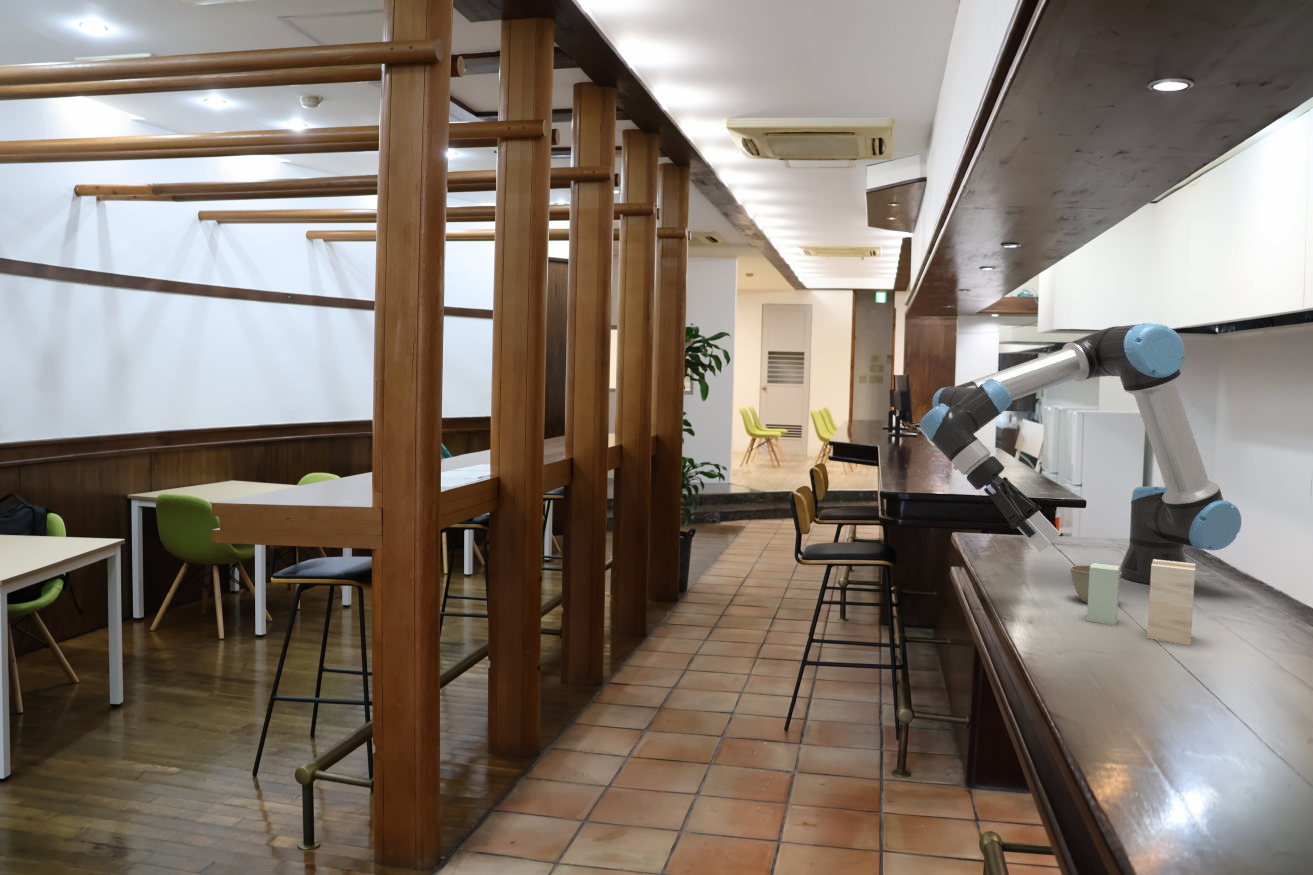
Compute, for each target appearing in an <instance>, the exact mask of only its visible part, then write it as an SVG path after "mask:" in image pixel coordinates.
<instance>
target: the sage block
mask: <svg viewBox="0 0 1313 875" xmlns="http://www.w3.org/2000/svg"><path fill="white" fill-rule="evenodd" d="M1120 566H1121V565H1115V564H1114V565H1113V564H1106V563H1105V564H1104V563H1096V562H1092V563H1091V564H1090V571H1089V591H1088V603H1087V610H1086V611H1087V614H1086V621H1087V622H1090V623H1096V624H1097V623H1098V624H1105V625H1110V626H1112V625H1113V626H1115V625H1116V623H1117V620H1118V608H1119V606H1118V604H1119V591H1120V588H1119V587H1120V586H1119V585H1120V582H1119V572H1120Z"/></svg>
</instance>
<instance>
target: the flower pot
mask: <svg viewBox="0 0 1313 875" xmlns="http://www.w3.org/2000/svg"><path fill="white" fill-rule="evenodd" d="M1090 566H1091V564H1090V565H1087V564H1086V565H1085V564H1084V565H1082V564H1080V565H1078V564H1077V565H1072V566H1071V567H1070V575H1071V579H1072V583H1073V586H1074V589H1075V590H1076V593H1077V596H1078V597H1079V598H1080V600H1081V601H1082V602H1084V603H1085V604H1088V591H1089V571H1090ZM1121 574H1122V573H1121V572H1119V583H1120V582H1121Z"/></svg>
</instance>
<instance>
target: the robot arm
mask: <svg viewBox="0 0 1313 875" xmlns="http://www.w3.org/2000/svg"><path fill="white" fill-rule="evenodd" d="M1185 350H1186V349H1185V345H1184V342H1183V340H1182V338H1181V337H1180V335H1179V334H1178V333H1177V332H1176V331H1175V330H1174V329H1172V328H1171V327H1169V326H1167V325H1165V324H1159V323H1150V322H1149V323H1147V322H1146V323H1140V324H1130V325H1122V326H1121V325H1118V326H1117V325H1116V326H1110V327H1107V328H1103V329H1100V330H1098V331H1095V332H1093V333H1091V334H1088V335H1086V336H1083V337H1080V338H1078V339H1076V340H1073V341H1070V342H1067V343H1065V344H1064V345H1063V346H1062V349H1060V350H1057V351H1054V352H1051V353H1048V354H1045V355H1042V356H1040V357H1036V358H1034V359H1031V360H1028V361H1025V362H1022V363H1020V364H1019V363H1018V364H1017V365H1013V366H1011V367H1008V368H1005V369H1002V370H999V371H997V372H993V373H991V374H987V375H984V376H982V377H979V378H975V379H973V380H971V381H967V382H964V383H962V384H959V385H956V386H946V387H942V388H940V389H938V390H937V391H936V392H935V394H934V395H933V397H932V401H931V402H932V403H931V404H932V409H930V410H929V411H928V412H927V413H926V414H925V415H923V417H922V418H921V419H920V422H919V427H920V429H921V431H922V432H923V433H924V434H925V437H927V438H928V440H929V441H930V442H931V443H932V444H933V445H934V446H935V447H936V448H937V449H938V450H939V451H940V452H941V453H942V454H943V455H944V456H945V457H946V459H948V461H950V462H951V463H952V465H953V467H952V468H953V469H954V471H957V470H958V471H959V473H961V475H963V476H966V480H967V482H968V483H970V485H971V486H973V488H974V489H975V490H981V489H983V488H984V487H985V488H984V489H983V490H984V491H983V492H985V493H986V494H987V496H988V497H989V498H990V499H991V501H992V502H993V504H995V506H996V508H997V509H998V510H999V511H1000V512H1001V514H1002V515H1003V516H1004V517H1005V519H1006V521H1007V522H1008V524H1009V527H1010V528H1011V529H1012V530H1015V529H1018V530H1019V532H1021V534H1022V535H1023V536H1024V537H1025V538H1026V539H1027V540H1028V542H1030V543H1031V545H1033V547H1034V548H1035V549H1036V550H1037V551H1038V552H1039V553H1041V552H1043V551H1044V550H1045V549H1046V548H1048V547H1049V546H1050V545H1051V544H1052V542H1053V541H1054V540H1055V539H1056V538H1058V537H1060V536H1061V532H1060V531H1059V530H1058V529H1057V528H1056V527H1055V526H1054V525H1053V524H1052V523H1051V522H1050V521H1049V520H1048V519H1047V518H1046V516H1044V515H1043V513H1042V512H1041V511H1040V510H1041V509H1042V507H1041V506H1040V504H1037V503H1035V502H1033V500H1031V498H1029V497H1028V496H1027V495H1025V493H1023V492H1022V491H1021V490H1020V489H1019V488H1018V487H1016V486H1015V484H1013V483H1012V482H1011V481H1010V480H1009V479H1008V477H1006V476H1003V478H1002V477H1001V476H1000V474H1002V472H1003V471H1004V470H1005V466H1004V465H1003V464H1002V463H1001V462H1000V460H998V458H997V457H995V456H993V455H992V456H991V450H990V449H988V448H987V447H986V445H984V444H983V442H982V441H981V440H980V439H979V438H978V437H977V436H976V435H975V434H976V433H977V432H978V431H980V430H981V429H982V428H984V427H985V426H986V425H988V424H989V423H990V422H991V421H993V420H994V419H996V418H998V416H1000V415H1002V414H1003V413H1004V411H1006V410H1007V409H1008V408H1009V407H1010V406H1011V405H1012V403H1013V401H1015V400H1019V399H1022V398H1024V397H1026V396H1029V395H1032V394H1036V393H1039V392H1041V391H1044V390H1047V389H1049V388H1052V387H1055V386H1058V385H1060V384H1064V383H1067V382H1070V381H1072V380H1074V381H1077V382H1083V381H1085V380H1088V379H1093V378H1100V377H1101V378H1102V377H1119V379H1120V382H1121V385H1122V387H1123V390H1124V392H1125V393H1126V392H1127V393H1129V394H1131V395H1133V396H1134V398H1135V402H1136V404H1137V407H1138V410H1139V413H1140V417H1141V419H1142V422H1143V425H1144V428H1145V430H1146V434H1147V436H1148V439H1149V443H1150V446H1151V448H1152V451H1153V454H1154V457H1155V459H1156V462H1157V466H1158V468H1159V471H1160V474H1161V477H1162V480H1163V483H1164V486H1137V487H1136V488H1134V489H1133V490H1132V495H1131V500H1130V505H1131V508H1130V525H1129V526H1130V527H1129V544H1128V548H1127V551H1126V552H1125V555H1124V557H1123V559H1122V562H1121V563H1120V565H1119V566H1120V572H1121V573H1122V574H1121V577H1122V579H1126V580H1128V581H1129V580H1130V581H1133V582H1138V583H1143V584H1148V585H1150V580H1151V565H1152V562H1153V559H1156V560H1165V561H1175V562H1184V563H1188V562H1187V557H1186V554H1185V551H1184V549H1185V546H1190V547H1192V548H1195V549H1198V550H1207V551H1220V550H1223V549H1225V548H1227V547H1229V546H1230V545H1231V544H1232V543H1233V542H1234V541H1235V540H1236V538H1237V537H1238V536H1237V535H1238V534H1239V533H1240V530H1241V528H1242V514H1241V511H1240V510H1239V508H1238V507H1237V506H1236V505H1235V504H1234V503H1232V502H1231V501H1228V500H1225V499H1224V497H1223V494H1222V492H1221V489H1220V486H1219V485H1218V483H1216V482H1214V481H1212V480H1210V479H1209V477H1208V474H1207V471H1206V468H1205V466H1204V462H1203V460H1202V457H1201V454H1200V451H1199V448H1198V445H1197V441H1196V440H1195V439H1196V438H1195V436H1194V433H1193V430H1192V427H1191V424H1190V421H1189V418H1188V415H1187V412H1186V409H1185V406H1184V404H1183V401H1182V397H1181V394H1180V392H1179V389H1178V386H1177V382H1178V380H1179V379H1180V377H1181V376H1182V374H1181V373H1182V372H1181V369H1180V368H1181V366H1182V365H1183V363H1184V360H1183V359H1184V358H1185V355H1186V351H1185ZM1024 515H1025V516H1024ZM1026 516H1027V517H1028V518H1026ZM1184 545H1185V546H1184Z"/></svg>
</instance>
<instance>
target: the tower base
mask: <svg viewBox="0 0 1313 875" xmlns="http://www.w3.org/2000/svg"><path fill="white" fill-rule="evenodd" d="M1193 609H1194V607H1193V608H1190V607H1182V606H1174V605H1167V604H1159V603H1152V602H1149V601H1148V616H1147V635H1146V639H1147V638H1150V639H1149V640H1152V639H1157V640H1156V641H1159V640H1161V642H1165V641H1168V642H1167V643H1172V642H1174V643H1173V644H1179V643H1180V644H1181V645H1185V644H1187V645H1188V646H1191V645H1192V644H1191V643H1192V629H1193V628H1192V627H1193V626H1192V625H1193V612H1194V610H1193ZM1187 645H1186V646H1187Z"/></svg>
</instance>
